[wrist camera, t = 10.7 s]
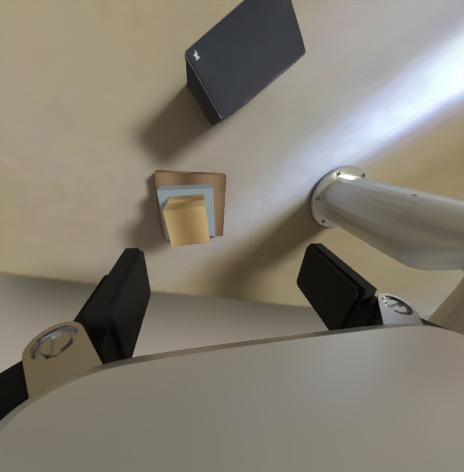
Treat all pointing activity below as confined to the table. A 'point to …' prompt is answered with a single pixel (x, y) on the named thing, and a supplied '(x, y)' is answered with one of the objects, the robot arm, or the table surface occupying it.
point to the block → (186, 220)
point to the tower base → (196, 179)
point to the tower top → (184, 190)
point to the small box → (242, 55)
